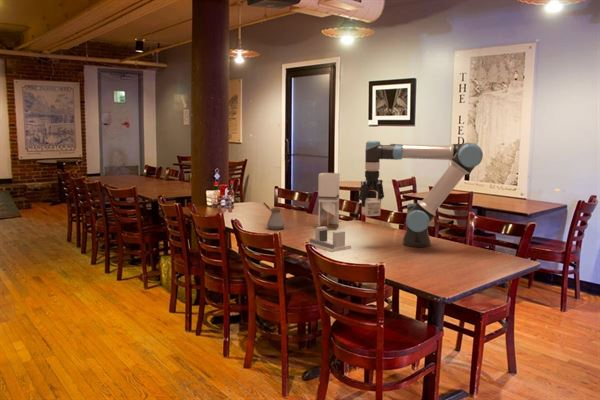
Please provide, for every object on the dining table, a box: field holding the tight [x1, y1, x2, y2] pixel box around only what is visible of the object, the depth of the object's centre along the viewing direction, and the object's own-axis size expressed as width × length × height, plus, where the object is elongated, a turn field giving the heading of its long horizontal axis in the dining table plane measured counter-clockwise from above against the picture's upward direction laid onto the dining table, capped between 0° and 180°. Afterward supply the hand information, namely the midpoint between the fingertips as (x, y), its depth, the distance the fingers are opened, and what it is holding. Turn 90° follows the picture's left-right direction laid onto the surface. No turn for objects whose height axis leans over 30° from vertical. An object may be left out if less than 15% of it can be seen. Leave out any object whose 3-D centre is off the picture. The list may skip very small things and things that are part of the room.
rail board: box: [308, 226, 352, 253], centre depth 285 cm, size 19×14×10 cm
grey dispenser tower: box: [317, 172, 340, 231], centre depth 333 cm, size 11×11×35 cm
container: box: [361, 190, 382, 217], centre depth 282 cm, size 8×8×13 cm
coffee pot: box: [262, 202, 286, 231], centre depth 336 cm, size 21×12×15 cm, turn 34°
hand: (371, 211), depth 282 cm, fingers closed on container, 9 cm apart
